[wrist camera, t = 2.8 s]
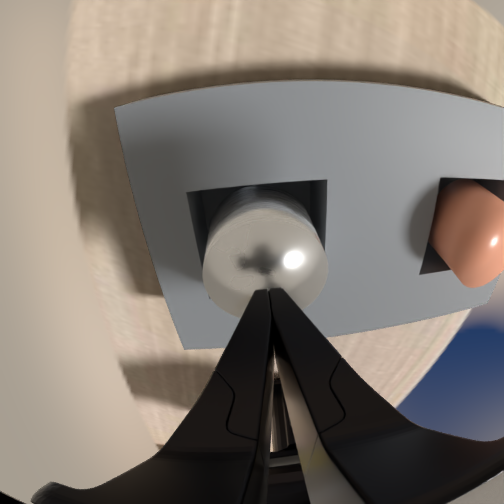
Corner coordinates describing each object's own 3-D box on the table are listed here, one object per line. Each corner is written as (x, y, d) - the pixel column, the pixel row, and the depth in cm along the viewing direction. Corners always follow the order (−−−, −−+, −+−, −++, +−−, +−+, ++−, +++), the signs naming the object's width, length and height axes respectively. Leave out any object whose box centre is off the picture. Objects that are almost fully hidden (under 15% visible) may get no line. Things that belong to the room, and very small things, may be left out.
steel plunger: (309, 268, 14) (324, 314, 11) (217, 276, 14) (213, 325, 11) (310, 180, 11) (331, 215, 9) (201, 190, 11) (191, 228, 9)
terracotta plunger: (474, 248, 13) (503, 280, 11) (418, 255, 13) (446, 294, 11) (492, 179, 11) (529, 206, 9) (433, 177, 11) (473, 207, 9)
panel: (459, 267, 18) (486, 303, 15) (191, 299, 18) (184, 349, 15) (491, 103, 11) (538, 120, 8) (147, 97, 12) (114, 107, 8)
